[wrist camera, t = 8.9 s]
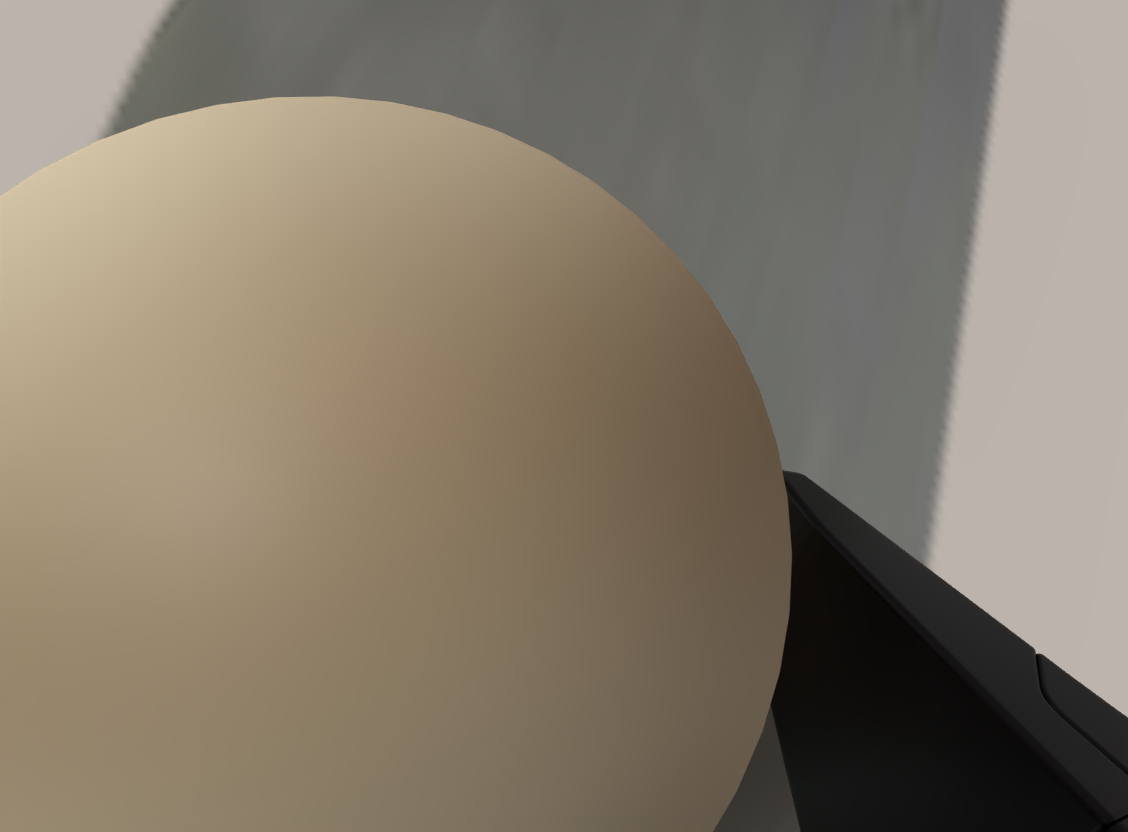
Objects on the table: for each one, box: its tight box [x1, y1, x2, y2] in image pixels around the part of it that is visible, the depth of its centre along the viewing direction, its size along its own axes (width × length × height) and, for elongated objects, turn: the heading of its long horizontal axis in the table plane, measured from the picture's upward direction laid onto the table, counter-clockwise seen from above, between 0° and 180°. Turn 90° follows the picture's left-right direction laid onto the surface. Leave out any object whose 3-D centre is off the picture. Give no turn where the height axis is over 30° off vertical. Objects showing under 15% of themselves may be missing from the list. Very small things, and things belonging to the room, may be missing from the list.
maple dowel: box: [0, 97, 792, 832], centre depth 10 cm, size 5×5×13 cm
